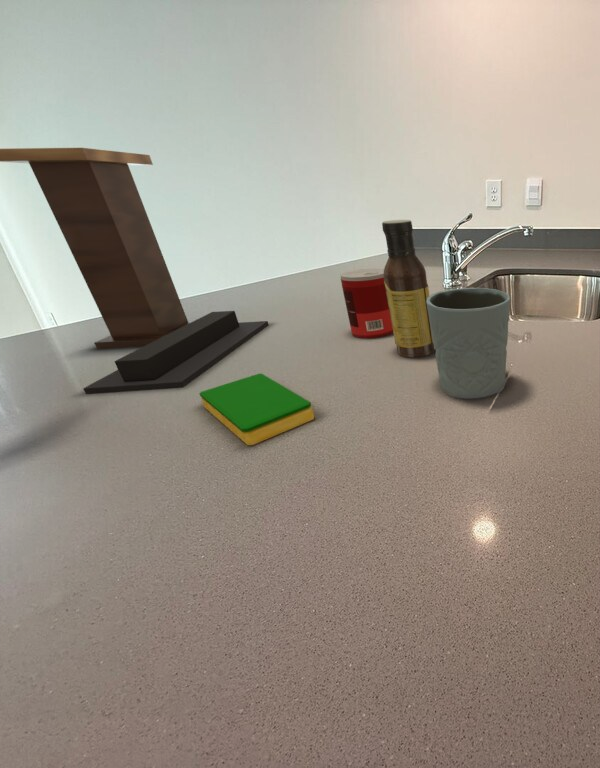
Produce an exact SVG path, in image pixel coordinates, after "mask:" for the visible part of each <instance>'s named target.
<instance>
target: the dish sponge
mask: <svg viewBox="0 0 600 768" xmlns="http://www.w3.org/2000/svg"><path fill="white" fill-rule="evenodd" d="M199 397H200V399H201V401H202V405H203V406H204V408H205V409H206V410H207V411H208V412H209V413H210V414H211V415H212V416H214V417H215V418H216V419H217V420H218V421H220V422H221V423H222V424H223V425H224V426H225V427H226V428H227V429H228V430H230V431H231V432H232V434H234V435H235V436H237V438H239V439H240V440H241V441H242V442H244V443H245V444H246V446H253V445H256V444H258V443H262V442H263V441H266V440H268V439H271V438H272V437H275V436H278V435H280V434H283V433H285V432H287V431H290V430H291V429H294V428H297V427H299V426H301V425H303V424H306V423H308V422H311V421H312V420H314V419H315V413H314V409H313V407H312V402H311V401H309V400H307V399H306V398H304V397H302V396H301V395H299V394H298V393H296V392H294V391H292V390H290V389H289V388H287V387H286V386H283V384H281V383H279V382H277V381H276V380H273V379H272V378H271V377H268V376H266V375H265V374H264V373H257V374H254V375H250V376H247V377H244V378H241V379H238V380H234V381H231V382H228V383H225V384H221V385H218V386H215V387H212V388H208V389H206V390H203V391H200V392H199Z"/></svg>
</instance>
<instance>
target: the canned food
mask: <svg viewBox="0 0 600 768" xmlns="http://www.w3.org/2000/svg"><path fill="white" fill-rule="evenodd" d="M340 283H341V288H342V294H343V297H344V302H345V307H346V313H347V317H348V321H349V327H350V331H351V334H352V336H353V337H355V338H358V339H375V338H380V337H385V336H388V335H390V334H394V333H393V328H392V322H391V316H390V311H389V305H388V300H387V294H386V288H385V283H384V268H360V269H352V270H348V271H345V272H342V273H341V274H340Z"/></svg>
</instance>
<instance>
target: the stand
mask: <svg viewBox="0 0 600 768" xmlns="http://www.w3.org/2000/svg"><path fill="white" fill-rule="evenodd" d="M0 163H16V164H29V166H30V168H31V170H32V172H33V175H34V177H35V178H36V181H37V183H38V185H39V187H40V190H41V191H42V194H43V196H44V197H45V200H46V202H47V204H48V206H49V209H50V211H51V213H52V214H53V217H54V219H55V221H56V223H57V225H58V227H59V230H60V231H61V234H62V236H63V238H64V240H65V242H66V244H67V246H68V248H69V250H70V252H71V255H72V256H73V259H74V260H75V263H76V265H77V267H78V269H79V271H80V274H81V276H82V277H83V280H84V282H85V284H86V286H87V288H88V290H89V292H90V295H91V296H92V299H93V301H94V303H95V305H96V307H97V309H98V311H99V313H100V315H101V318H102V320H103V322H104V324H105V326H106V328H107V330H108V332H109V335H108V336H107V337H104V338H102V339H100V340H97V341H94V343H93V344H94V346H95V348H96V350H101V349H103V350H104V349H121V348H136V347H137V348H138V347H144V346H146V345H148V344H150V343H152V342H154V341H156V340H158V339H160V338H161V337H163V336H165V335H167V334H169V333H171V332H173V331H175V330H177V329H179V328H181V327H183V326H185V325H187V324H189V323H191V322H193V321H195V320H197V319H198V318H194V319H193V318H192V319H188V318H187V314H186V313H185V309H184V308H183V305H182V302H181V300H180V297H179V294H178V291H177V289H176V287H175V283H174V281H173V279H172V278H173V277H172V276H171V273H170V271H169V268H168V266H167V263H166V260H165V258H164V255H163V253H162V250H161V247H160V246H159V242H158V239H157V237H156V234H155V232H154V229H153V227H152V224H151V222H150V219H149V216H148V214H147V211H146V209H145V205H144V203H143V200H142V198H141V195H140V192H139V190H138V188H137V184H136V182H135V180H134V177H133V174H132V171H131V169H130V166H153V165H154V163H153V162H152V158H151V155H150V154H145V153H134V152H125V151H118V150H117V151H115V150H106V149H97V148H89V147H24V148H23V147H22V148H19V147H18V148H17V147H16V148H13V147H12V148H0Z"/></svg>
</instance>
